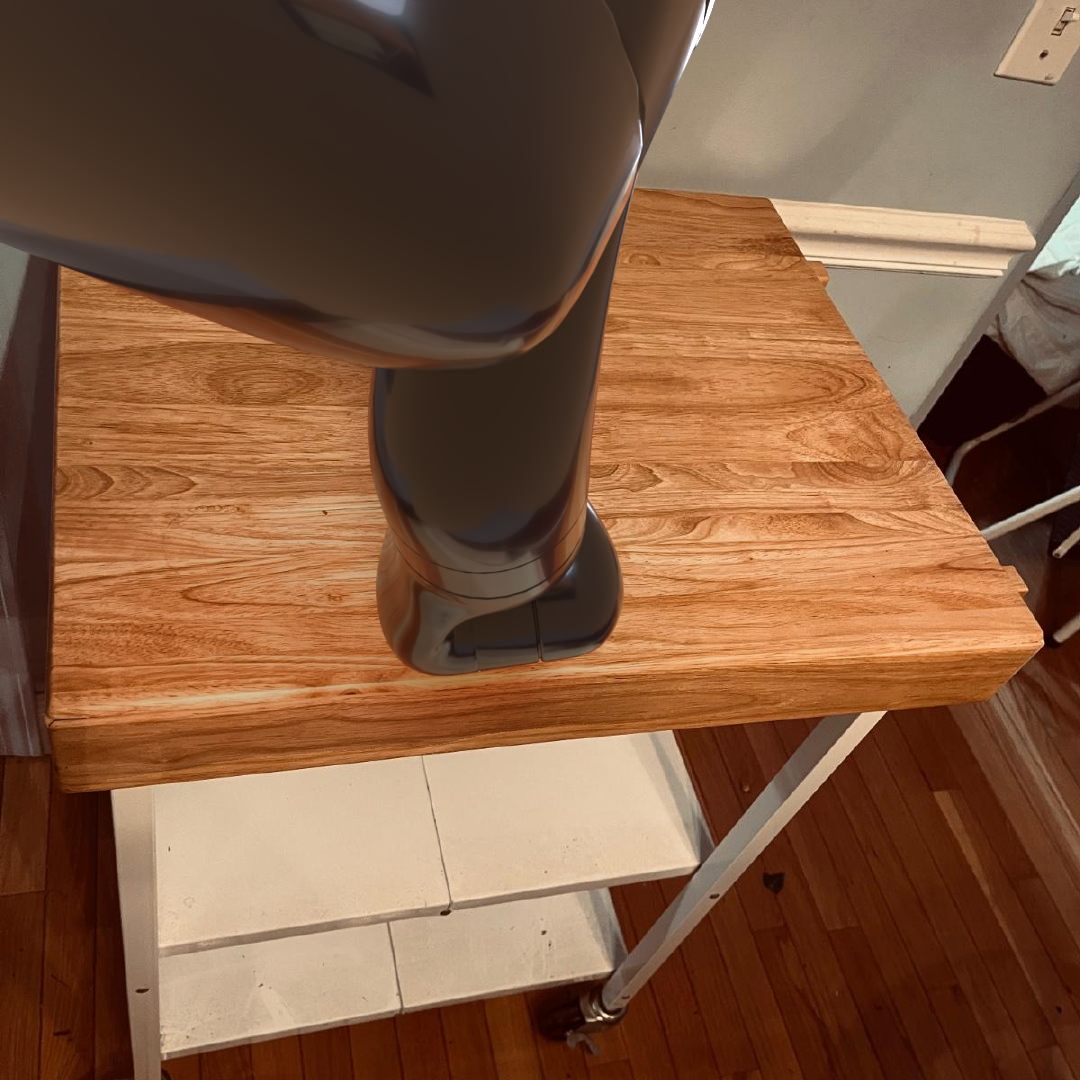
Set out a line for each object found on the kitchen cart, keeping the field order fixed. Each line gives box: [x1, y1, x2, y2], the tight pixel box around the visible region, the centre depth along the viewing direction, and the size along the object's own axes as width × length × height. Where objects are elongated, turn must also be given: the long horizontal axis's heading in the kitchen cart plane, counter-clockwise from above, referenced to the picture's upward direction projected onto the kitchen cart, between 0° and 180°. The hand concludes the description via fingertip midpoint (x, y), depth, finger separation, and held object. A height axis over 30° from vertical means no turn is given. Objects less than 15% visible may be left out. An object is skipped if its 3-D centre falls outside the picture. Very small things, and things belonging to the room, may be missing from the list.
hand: (437, 174), depth 67 cm, fingers open, 8 cm apart
